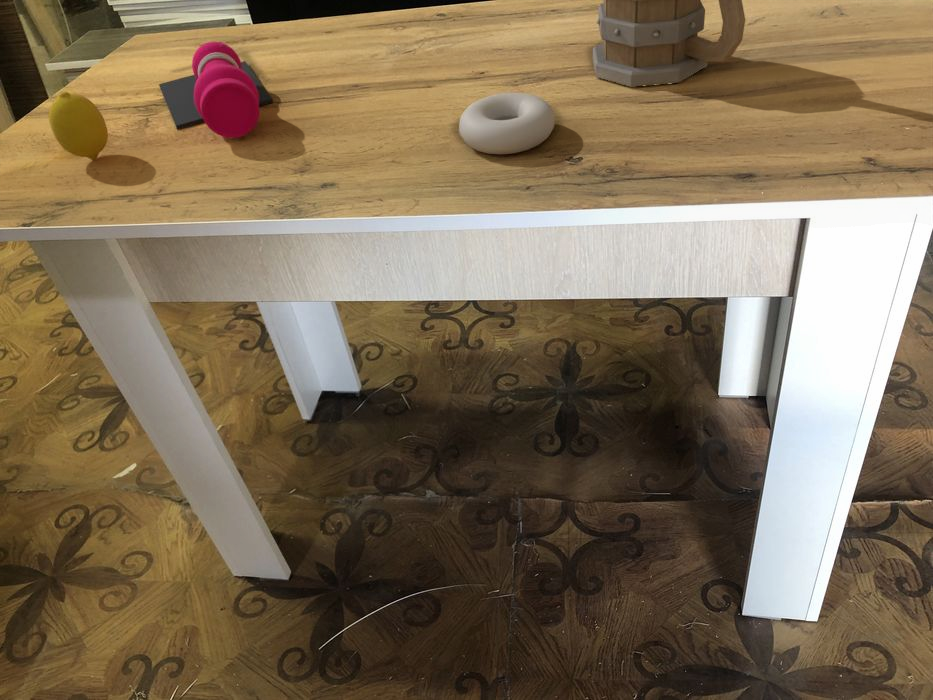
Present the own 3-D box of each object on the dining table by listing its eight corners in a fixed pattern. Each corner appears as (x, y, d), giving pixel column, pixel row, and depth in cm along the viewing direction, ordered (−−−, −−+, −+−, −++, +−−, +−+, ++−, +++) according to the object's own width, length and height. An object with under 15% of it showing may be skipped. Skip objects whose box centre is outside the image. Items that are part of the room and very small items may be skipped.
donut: (443, 154, 80) (530, 166, 76) (438, 123, 78) (527, 133, 74) (488, 113, 87) (571, 122, 82) (485, 83, 84) (569, 90, 80)
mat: (177, 129, 93) (175, 125, 93) (160, 87, 105) (158, 84, 104) (273, 102, 96) (272, 98, 96) (246, 64, 107) (245, 60, 107)
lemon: (122, 144, 92) (93, 78, 86) (114, 165, 87) (83, 97, 82) (75, 152, 91) (43, 87, 86) (64, 174, 87) (30, 106, 82)
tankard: (571, 71, 92) (568, -67, 83) (639, 37, 98) (644, -96, 88) (715, 112, 80) (730, -44, 70) (783, 71, 86) (806, -80, 76)
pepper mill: (195, 139, 87) (184, 81, 101) (261, 144, 89) (241, 87, 104) (197, 74, 83) (185, 24, 97) (266, 82, 85) (244, 32, 100)
